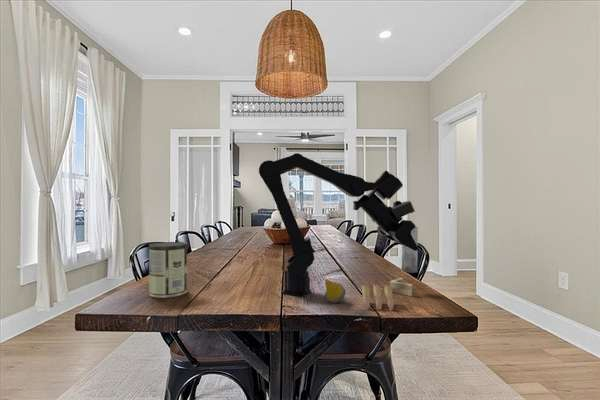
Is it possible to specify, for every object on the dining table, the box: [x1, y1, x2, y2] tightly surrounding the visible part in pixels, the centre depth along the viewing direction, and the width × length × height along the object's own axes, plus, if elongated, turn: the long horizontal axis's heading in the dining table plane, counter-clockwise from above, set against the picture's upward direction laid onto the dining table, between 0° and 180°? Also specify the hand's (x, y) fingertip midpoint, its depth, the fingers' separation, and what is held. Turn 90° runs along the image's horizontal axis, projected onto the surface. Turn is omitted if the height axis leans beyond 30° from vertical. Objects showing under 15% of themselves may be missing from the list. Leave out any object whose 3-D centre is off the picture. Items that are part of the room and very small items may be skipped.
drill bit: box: [324, 278, 346, 304], centre depth 94 cm, size 5×5×10 cm
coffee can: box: [148, 241, 188, 299], centre depth 102 cm, size 10×10×14 cm
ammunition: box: [361, 284, 395, 311], centre depth 92 cm, size 5×7×8 cm
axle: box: [401, 226, 419, 274], centre depth 106 cm, size 4×4×13 cm
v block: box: [389, 277, 413, 297], centre depth 105 cm, size 5×9×3 cm, turn 3°
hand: (414, 248), depth 106 cm, fingers closed on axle, 4 cm apart
